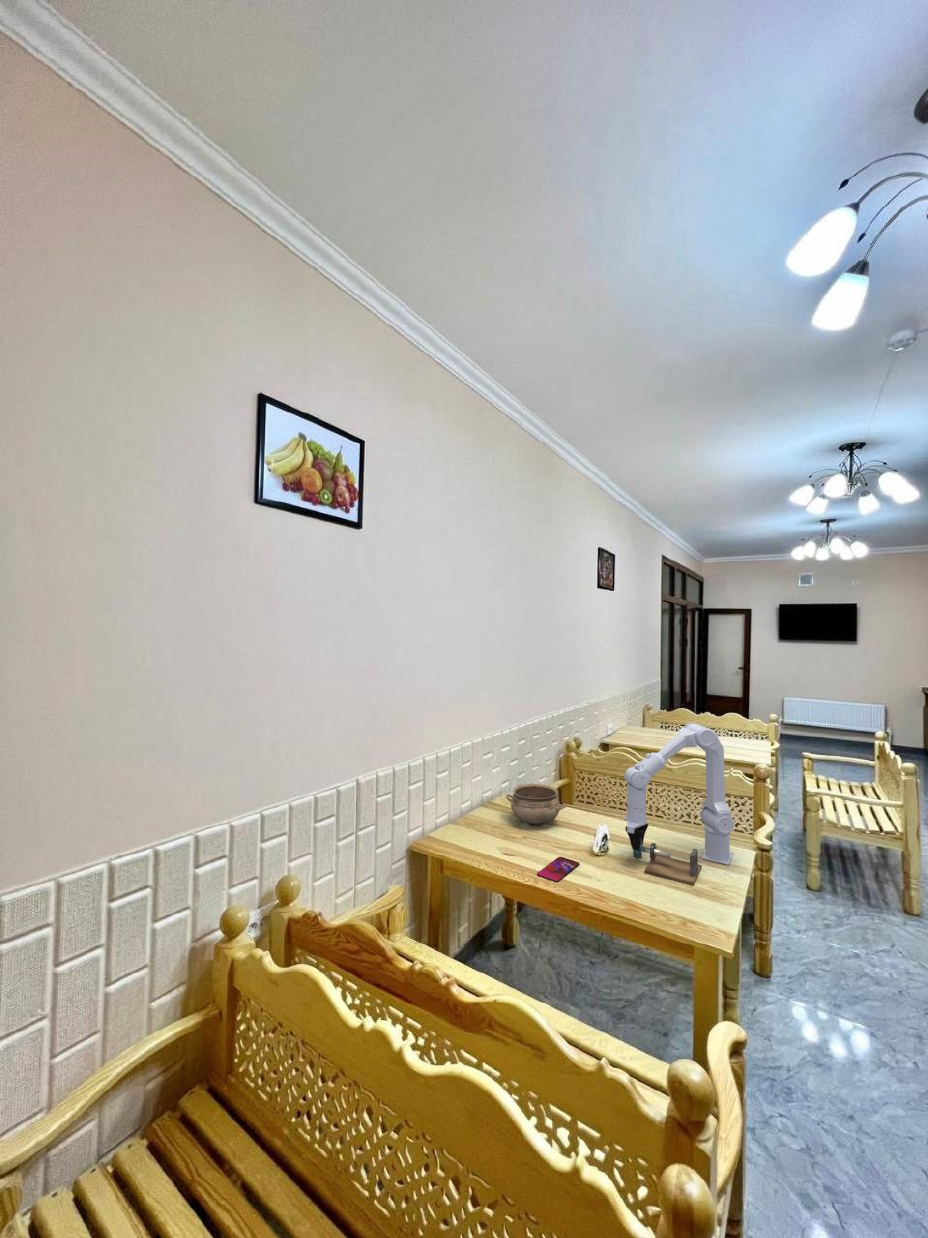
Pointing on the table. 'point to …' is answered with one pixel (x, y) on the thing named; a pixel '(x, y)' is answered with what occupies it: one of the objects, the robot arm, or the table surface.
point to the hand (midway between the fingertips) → (637, 847)
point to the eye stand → (676, 868)
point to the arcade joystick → (651, 850)
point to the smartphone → (558, 869)
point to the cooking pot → (535, 803)
